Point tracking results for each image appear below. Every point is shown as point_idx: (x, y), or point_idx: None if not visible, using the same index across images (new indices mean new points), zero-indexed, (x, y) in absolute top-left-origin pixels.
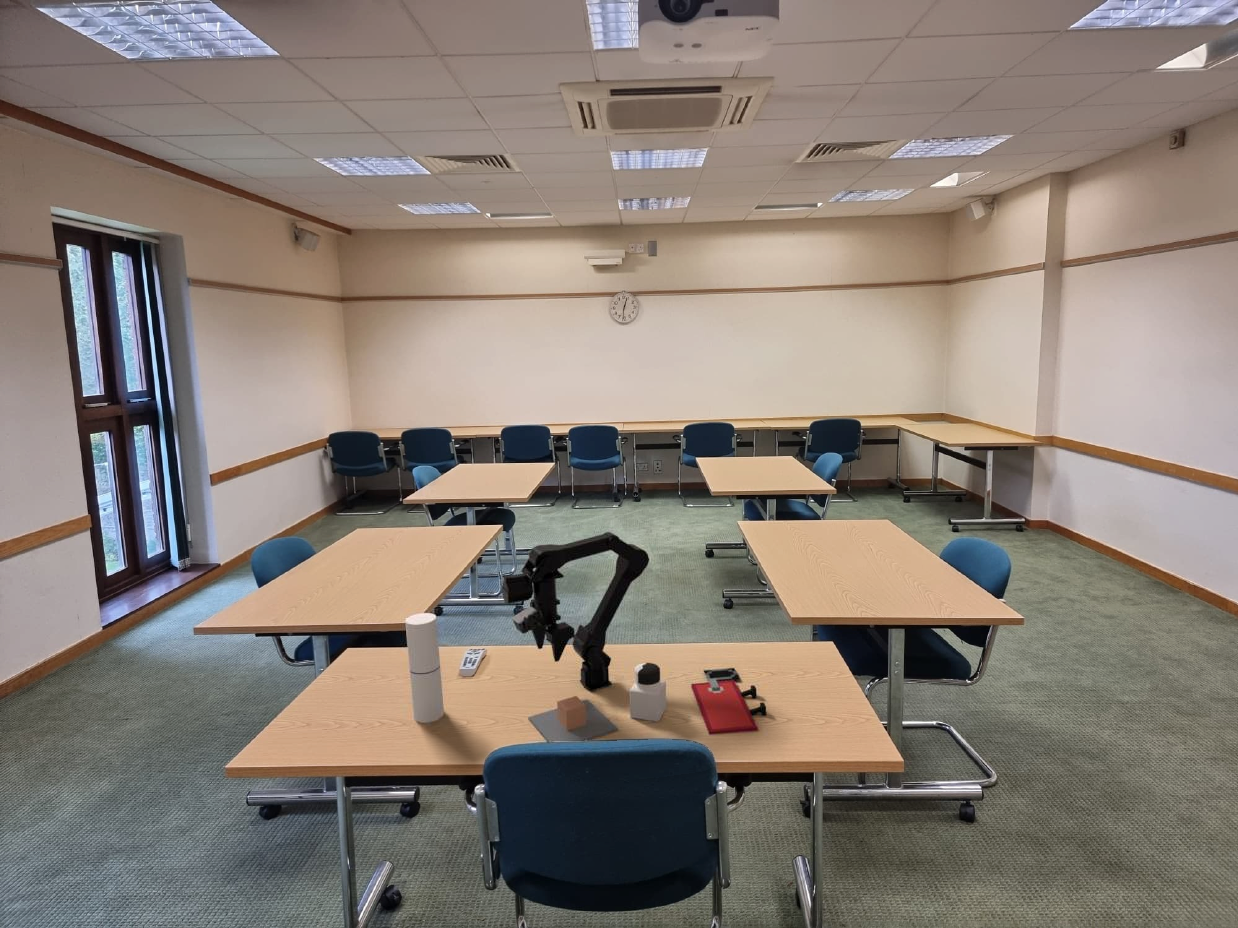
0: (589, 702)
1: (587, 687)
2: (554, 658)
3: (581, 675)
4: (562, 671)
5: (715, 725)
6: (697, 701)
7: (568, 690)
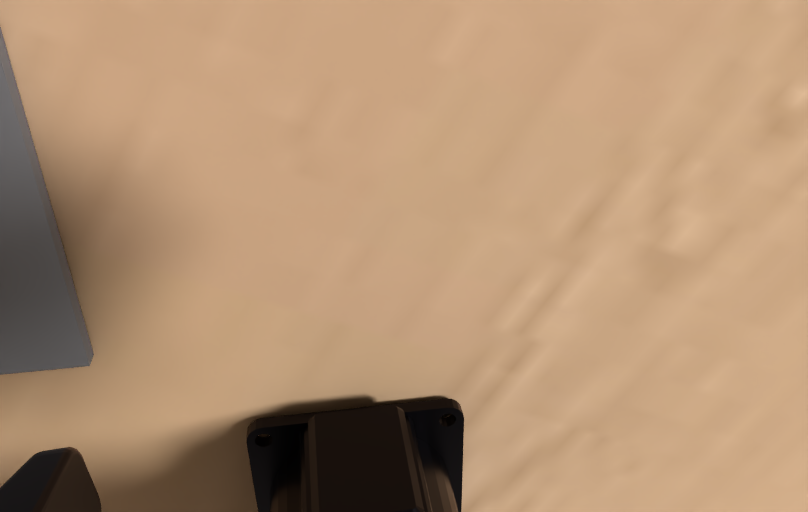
0: (17, 362)
1: (303, 420)
2: (13, 500)
3: (390, 462)
4: (714, 333)
5: None
6: None
7: (368, 276)
